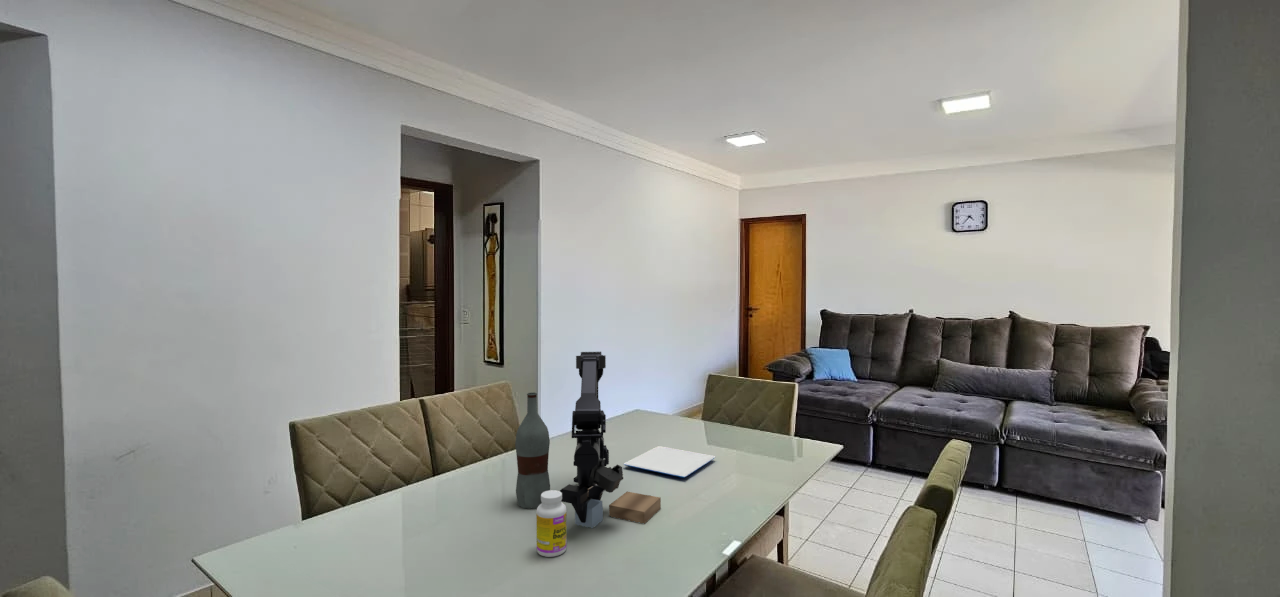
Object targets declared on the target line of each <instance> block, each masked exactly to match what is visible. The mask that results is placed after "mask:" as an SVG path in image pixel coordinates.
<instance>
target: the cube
mask: <svg viewBox="0 0 1280 597" xmlns="http://www.w3.org/2000/svg"><path fill="white" fill-rule="evenodd" d="M603 505H604V504H603V500H595V499H591V500H590V501H589V502H588V503H587V515H586V522H585V523H582V522H581V521H580V519H579V517H578V515H577V513H576V511H575V510H574V525H575V524H577V525H576V526H579V525H582V526H581V527H584V526H586V527H585V528H588V527H591V528H590V529H593V527H594V526H595V527H597V526H598V525H599V524H600V523H601V522H602V521H603V520H604V518H603V517H604V516H603V514H604V512H603V510H604V509H603V507H604V506H603ZM599 522H600V523H599ZM598 523H599V524H598ZM595 527H594V528H595Z"/></svg>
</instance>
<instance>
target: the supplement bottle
mask: <svg viewBox="0 0 1280 597" xmlns="http://www.w3.org/2000/svg"><path fill="white" fill-rule="evenodd" d="M561 500H562V493H561V492H560V490H555V489H550V490H549V491H545V492H543V493H542V494H541V502H542V504H540V505H539V506H538V508H536V511H535V512H536V513H535V514H536V551H537V552H536V553H537V554H539V555H540V556H542V557H546V558H553V557H554V558H555V557H558V556H560V555H562V554H564V553H565V551H567V544H568V543H567V542H568V541H567V535H568V534H567V531H568V530H567V528H568V527H567V507H566V504H564V502H562V501H561Z"/></svg>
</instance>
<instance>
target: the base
mask: <svg viewBox="0 0 1280 597" xmlns="http://www.w3.org/2000/svg"><path fill="white" fill-rule="evenodd" d="M661 501H662V499H661V497H660V496H654V495H648V494H642V493H638V492H633V491H626V492H625V493H622V495H620V496H619V497H617V499H615V500H614V501H612V502H611V503H610V504H609V505H608V512H609V513H608V517H609V516H611V517H610V518H613V517H615V519H618V518H620V520H623V519H625V520H624V521H628V520H630V521H629V522H633V521H635V522H634V523H638V522H640V523H639V524H642V523H644V524H643V525H645V524H646V523H648V521H649V520H650V519H652V518H653V515H654V514H655V513H656V514H657V513H658V512H660V510H661V509H662V508H661V507H662V504H661V503H662V502H661ZM654 516H655V515H654Z"/></svg>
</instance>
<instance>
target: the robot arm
mask: <svg viewBox="0 0 1280 597" xmlns="http://www.w3.org/2000/svg"><path fill="white" fill-rule="evenodd" d="M606 356H607V355H604V354H602V351H581V352H580V355H575V368H576V369H577V370H578V376H579V377H580V378H581V385H580V386H581V387H580V391H581V392H580V397H579V398H577V400H576V401H575V408H574V409H575V410H572V415H571V439H576V446H575V451H574V455H573V466H574V467H576V476H575V477H574V478H573V483H576V484H577V485H575V484H570V483H568V484H567V485H565V486H564V487H562V488H561V489H560V490H559V491H560V492H561V493H562V500H561V502H562V503H565V504H566V503H567V504H570V505H571V506H572V507H573V510H574V512H575V511H576V513H577V515H578V517H579V519H580V521H581V522H582V523H585V522H586V515H587V503H588V502H589V501H590V500H591V499H595V500H600V501H602V496H603V493H604V492H607V493H609V494H610V493H611V494H612V493H613V492H614V491H615V490H617V489H618V488H619V486H620V483H621V481H623V480H624V474H623V471H624V470H623V466H621V465H619V464H616V465H614V466H613V467H611V466H609V467H607V466H608V465H609V464H610V458H609V457H610V455H609V454H610V452H609V451H610V450H609V449H608V448H607V444H605V438H604V433H607V432H606V430H607V428H606V426H607V424H606V423H607V422H606V418H607V415H606V414H605V411H604V410H603V409H601V400H599V382H600V380H601V378H602V376H604V369H606V366H607V365H606V364H607V363H606V361H607V360H606V359H607V358H606ZM575 429H576V430H575ZM599 429H600V430H599Z"/></svg>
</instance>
